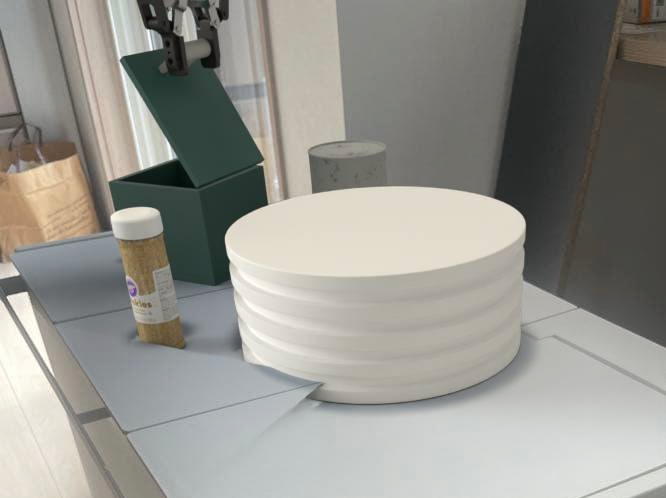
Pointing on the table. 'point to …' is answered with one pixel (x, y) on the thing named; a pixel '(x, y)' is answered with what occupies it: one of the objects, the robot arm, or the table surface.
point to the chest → (193, 214)
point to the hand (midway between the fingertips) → (195, 70)
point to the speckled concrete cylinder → (347, 165)
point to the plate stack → (380, 290)
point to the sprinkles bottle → (148, 275)
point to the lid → (194, 114)
